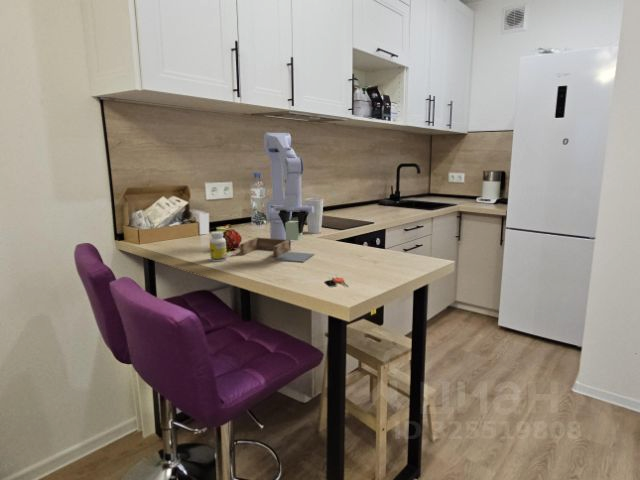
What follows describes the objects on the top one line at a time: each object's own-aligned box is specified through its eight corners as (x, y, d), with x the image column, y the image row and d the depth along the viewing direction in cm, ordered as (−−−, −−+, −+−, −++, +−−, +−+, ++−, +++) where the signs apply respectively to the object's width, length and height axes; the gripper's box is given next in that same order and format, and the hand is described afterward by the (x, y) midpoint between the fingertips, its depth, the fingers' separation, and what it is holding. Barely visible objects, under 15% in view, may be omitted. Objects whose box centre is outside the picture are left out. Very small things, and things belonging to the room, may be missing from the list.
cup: (301, 232, 193) (301, 199, 190) (315, 229, 199) (315, 197, 195) (313, 234, 187) (313, 200, 184) (327, 232, 192) (327, 199, 189)
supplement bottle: (210, 258, 146) (208, 231, 144) (225, 257, 148) (224, 230, 146) (211, 262, 142) (210, 234, 139) (228, 260, 143) (226, 233, 141)
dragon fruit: (223, 257, 155) (233, 254, 167) (241, 244, 154) (249, 241, 166) (210, 238, 155) (221, 236, 167) (228, 225, 154) (237, 224, 166)
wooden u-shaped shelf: (256, 247, 163) (256, 237, 162) (290, 250, 159) (290, 239, 158) (240, 254, 152) (240, 244, 151) (276, 257, 147) (276, 246, 146)
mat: (286, 252, 154) (286, 251, 154) (314, 254, 151) (314, 253, 151) (273, 260, 144) (273, 258, 144) (303, 262, 141) (303, 261, 140)
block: (290, 237, 149) (290, 220, 148) (302, 237, 147) (302, 221, 146) (285, 239, 145) (285, 222, 143) (297, 240, 143) (297, 223, 142)
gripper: (269, 194, 141) (270, 233, 144) (308, 195, 137) (309, 235, 139) (277, 192, 148) (278, 229, 151) (316, 193, 143) (316, 231, 146)
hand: (294, 232), depth 145 cm, fingers closed on block, 4 cm apart
